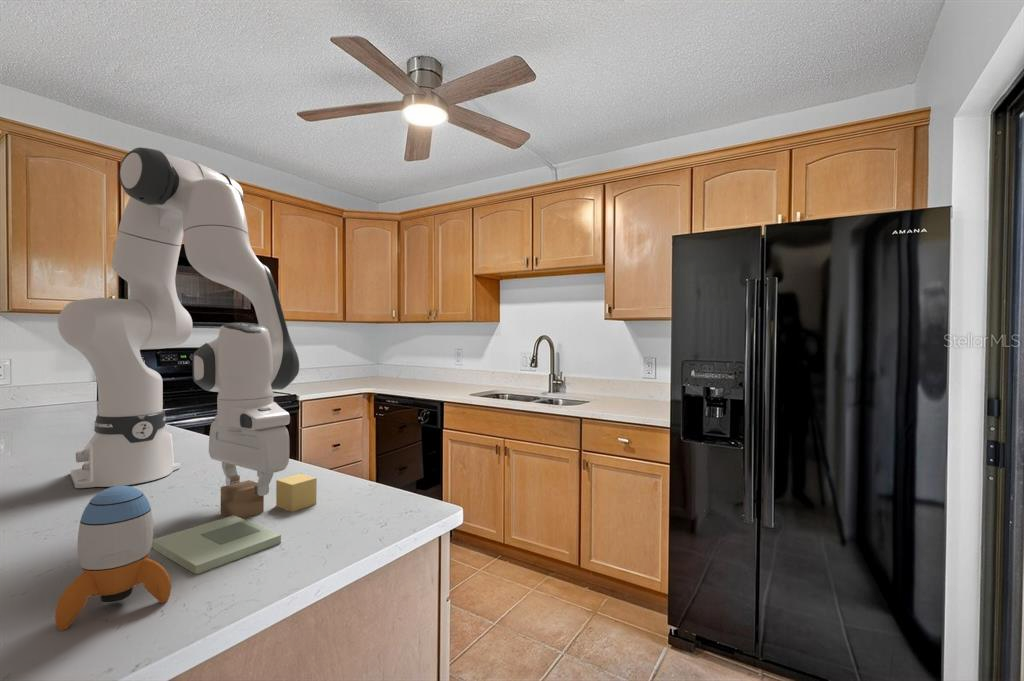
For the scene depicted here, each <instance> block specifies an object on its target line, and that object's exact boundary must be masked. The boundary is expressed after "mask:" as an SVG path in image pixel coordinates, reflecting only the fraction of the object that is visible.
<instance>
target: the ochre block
mask: <svg viewBox="0 0 1024 681" xmlns="http://www.w3.org/2000/svg"><path fill="white" fill-rule="evenodd" d="M275 484H276V485H275V486H276V487H275V488H276V489H275V490H276V493H275V494H276V495H275V496H276V498H275V499H276V500H275V503H276V504H275V506H276V507H278V508H281V509H282V510H286V511H287V512H288V511H289V512H290V513H291V512H292V513H293V512H296V511H298V510H301V509H304V508H308V507H311V506H313V504H314V505H317V477H314V476H310V475H308V474H303V473H298V474H293V475H290V476H286V477H283V478H279V479H276V481H275Z"/></svg>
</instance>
